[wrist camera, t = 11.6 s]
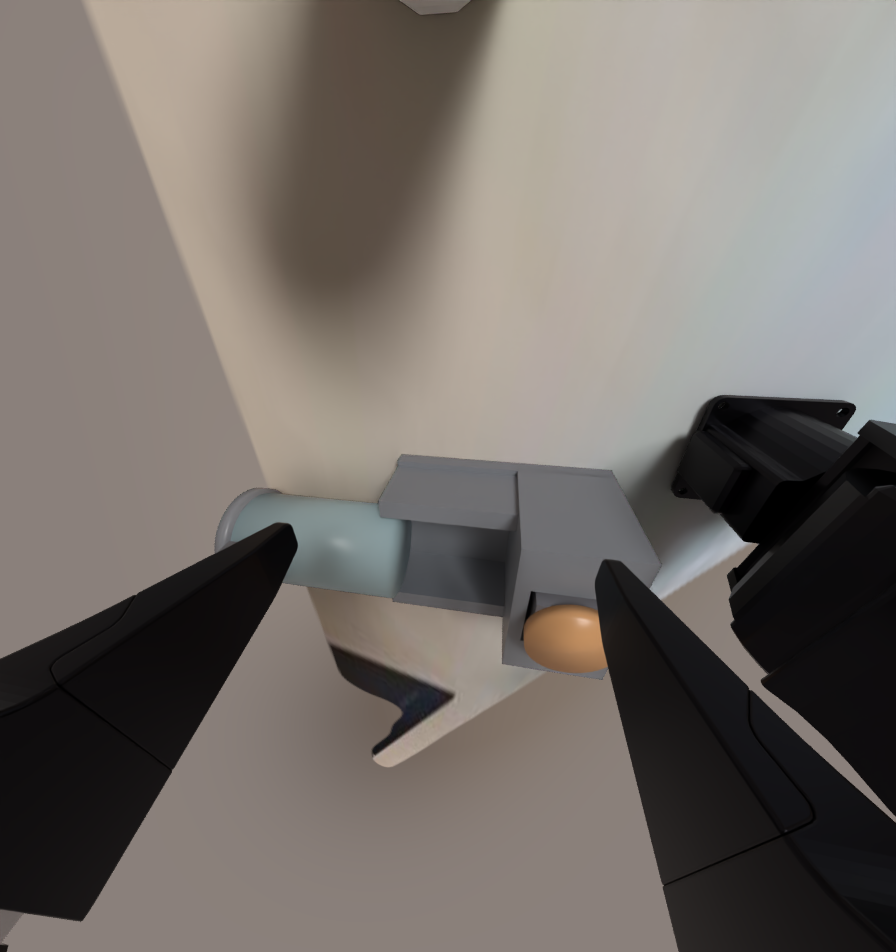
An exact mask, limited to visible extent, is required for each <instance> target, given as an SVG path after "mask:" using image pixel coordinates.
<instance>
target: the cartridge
mask: <svg viewBox="0 0 896 952" xmlns="http://www.w3.org/2000/svg"><path fill="white" fill-rule="evenodd" d="M276 522H283V523H289V524H291V525H292V527H293V530H294V533H295V536H296V539H297V541H298V549H297V552H296V554H295V556H294V558H293V561H292V563H291V565H290V567H289V569H288V571H287V573H286V576H285V578H284V580H283V582H282V583H286V584H293V585H300V586H307V587H314V588H322V589H329V590H336V591H343V592H350V593H357V594H365V595H372V596H379V597H386V598H394V597H395V596H396V595H397V594H398V592H399V590H400V588H401V586H402V583H403V581H404V578H405V574H406V570H407V566H408V561H409V556H410V548H411V537H412V523H411V520H402V519H393V518H383V517H380V510H379V504H378V503H368V502H358V501H347V500H337V499H327V498H317V497H307V496H297V495H287V494H282V493H281V492H280V491H278V490H275V489H269V488H253V489H250V490H247V491H246V492H243V493H242V494H240V495H239V496H238V497H237V498H236V499H234V501H233V502H232V503H231V504H230V505H229V507H228V508H227V509H226V511H225V513H224V514H223V516H222V518H221V520H220V523H219V526H218V530H217V532H216V537H215V553H217V552H219V551H221V550H223V549H225V548H227V547H229V546H231V545H233V544H235V543H236V542H238V541H240V540H242V539H244V538H246V537H248V536H250V535H252V534H254V533H256V532H258V531H260V530H262V529H264V528H266V527H268V526H270V525H272V524H274V523H276Z"/></svg>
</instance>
